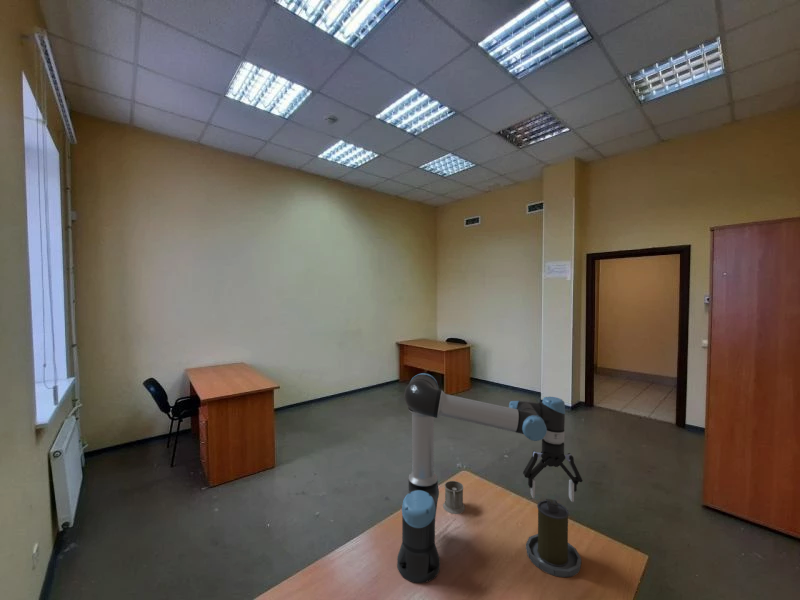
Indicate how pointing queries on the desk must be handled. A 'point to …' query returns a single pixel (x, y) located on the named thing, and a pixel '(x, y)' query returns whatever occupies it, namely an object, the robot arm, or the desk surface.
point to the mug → (453, 497)
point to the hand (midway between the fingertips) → (551, 497)
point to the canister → (553, 533)
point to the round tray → (564, 571)
